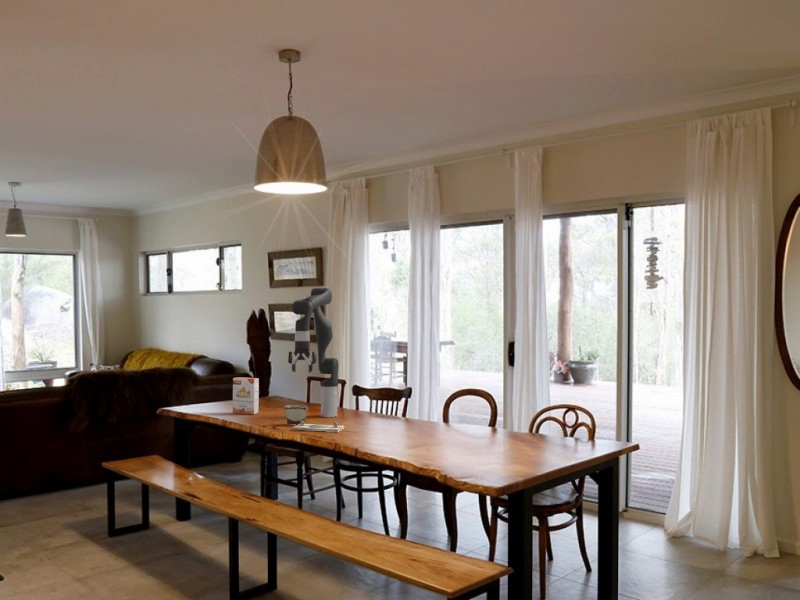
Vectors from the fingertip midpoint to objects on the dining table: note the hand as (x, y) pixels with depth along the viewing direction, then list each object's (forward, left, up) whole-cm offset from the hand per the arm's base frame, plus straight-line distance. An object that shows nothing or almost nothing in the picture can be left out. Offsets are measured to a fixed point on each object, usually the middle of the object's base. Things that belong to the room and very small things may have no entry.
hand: (302, 372), depth 345 cm
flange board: (-3, +8, -29) cm, 30 cm away
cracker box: (-42, -50, -30) cm, 72 cm away
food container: (-15, -8, -30) cm, 34 cm away
